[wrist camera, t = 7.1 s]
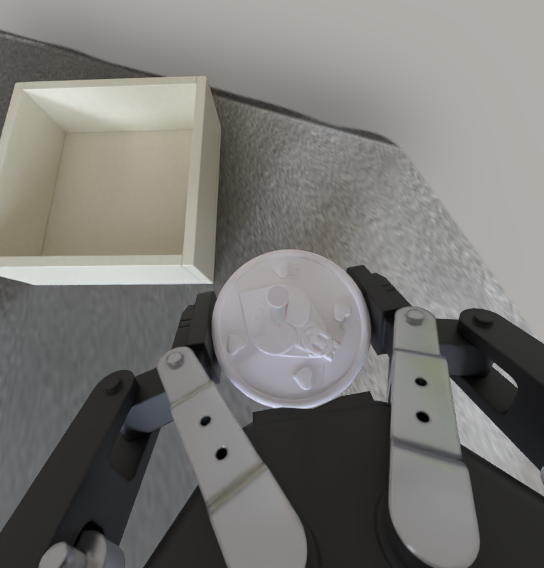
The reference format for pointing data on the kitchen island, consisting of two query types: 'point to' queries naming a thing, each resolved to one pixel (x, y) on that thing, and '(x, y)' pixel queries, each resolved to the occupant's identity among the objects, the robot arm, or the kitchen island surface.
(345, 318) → the smoothie
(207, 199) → the wooden tray
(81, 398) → the kitchen island surface
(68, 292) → the kitchen island surface
